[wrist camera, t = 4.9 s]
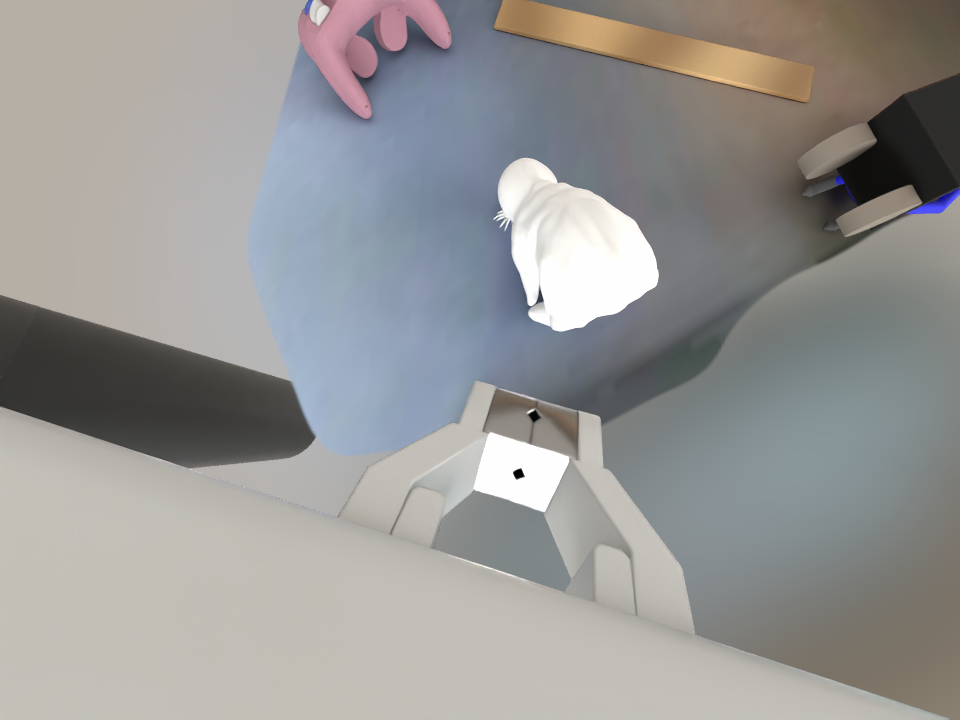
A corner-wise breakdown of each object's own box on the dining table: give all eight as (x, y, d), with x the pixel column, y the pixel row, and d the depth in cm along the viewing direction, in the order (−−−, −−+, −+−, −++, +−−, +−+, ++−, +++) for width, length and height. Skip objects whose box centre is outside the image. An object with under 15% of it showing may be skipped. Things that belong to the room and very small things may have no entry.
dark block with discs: (801, 272, 29) (1010, 187, 28) (897, 220, 21) (1186, 102, 20) (755, 193, 30) (954, 110, 29) (830, 118, 22) (1100, 3, 22)
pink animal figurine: (426, 39, 33) (380, -77, 27) (461, 42, 30) (418, -84, 25) (338, 116, 32) (271, 12, 26) (367, 127, 29) (299, 14, 23)
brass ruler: (493, 29, 31) (494, 25, 31) (504, -1, 32) (504, -5, 32) (806, 102, 30) (809, 99, 29) (811, 70, 30) (815, 66, 30)
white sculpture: (571, 312, 18) (461, 119, 21) (549, 364, 26) (473, 219, 29) (697, 255, 18) (570, 75, 21) (636, 324, 26) (551, 185, 30)
